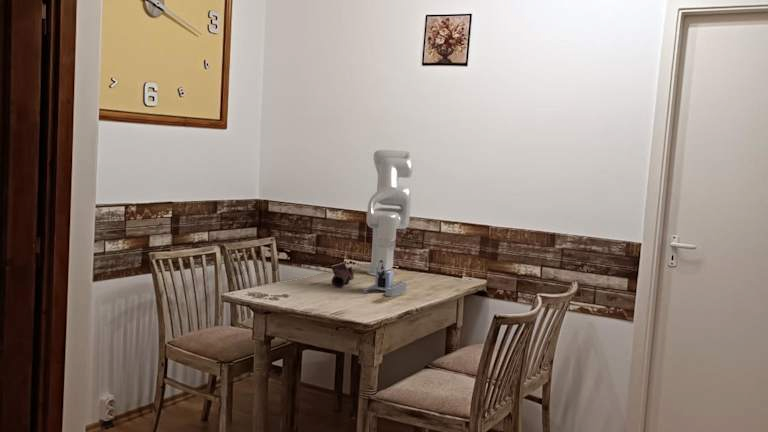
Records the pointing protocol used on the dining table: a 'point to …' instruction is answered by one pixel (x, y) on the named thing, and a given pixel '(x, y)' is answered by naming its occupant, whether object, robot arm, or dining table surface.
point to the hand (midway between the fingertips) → (383, 285)
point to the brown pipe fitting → (341, 275)
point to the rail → (390, 289)
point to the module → (388, 280)
